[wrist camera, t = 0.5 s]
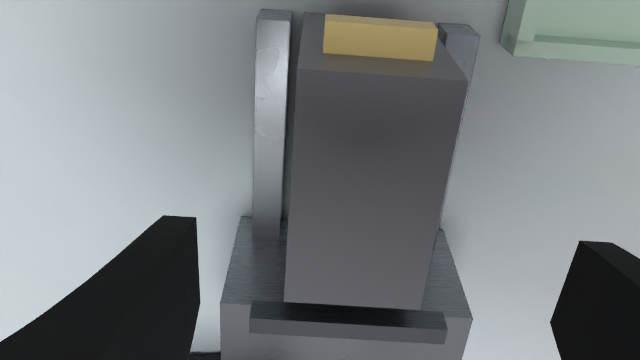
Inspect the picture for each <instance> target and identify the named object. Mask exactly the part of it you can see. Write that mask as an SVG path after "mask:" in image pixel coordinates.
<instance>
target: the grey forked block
mask: <svg viewBox="0 0 640 360" xmlns="http://www.w3.org/2000/svg"><path fill="white" fill-rule="evenodd" d="M291 22H292V12H291V11H278V10H266V9H261V10H260V12H259V15H258V17H257V19H256V68H255V120H254V171H253V217H241V218H240V222H239V226H238V231H237V235H236V239H235V243H234V247H233V251H232V256H231V260H230V264H229V268H228V272H227V276H226V281H225V285H224V289H223V293H222V297H221V301H220V330H221V360H462V356H463V353H464V349H465V345H466V342H467V338H468V335H469V331H470V327H471V324H472V320H473V317H472V314H471V311H470V308H469V305H468V302H467V299H466V296H465V293H464V291H463V288H462V285H461V282H460V279H459V276H458V273H457V270H456V267H455V264H454V261H453V258H452V255H451V252H450V249H449V246H448V243H447V240H446V237H445V234H444V231H443V230H439V225H440V221H441V216H442V212H443V207H444V202H445V198H446V193H447V188H448V184H449V179H450V174H451V170H452V165H453V160H454V156H455V151H456V147H457V142H458V137H459V133H460V128H461V123H462V119H463V114H464V109H465V105H466V100H467V96H468V91H469V86H470V82H471V77H472V72H473V68H474V63H475V58H476V54H477V49H478V44H479V40H480V36H479V35H478V34H477V33H476V32H475V30H474V29H473V28H472V27H471V26H470V25H458V24H445V23H439V27H438V35H437V37H438V38H439V40H440V41H441V42H442V44H443V45H444V47H445V48H446V49H447V51H448V52H449V54H450V55H451V56H452V58H453V59H454V61H455V62H456V64H457V65H458V66H459V68H460V69H461V71H462V72H463V73H464V75H465V76H466V78H467V79H468V80H469V83H468V88H467V93H466V97H465V102H464V107H463V111H462V116H461V121H460V125H459V130H458V135H457V139H456V144H455V149H454V153H453V158H452V163H451V167H450V172H449V177H448V181H447V186H446V191H445V196H444V200H443V205H442V210H441V214H440V219H439V224H438V228H437V233H436V238H435V242H434V247H433V252H432V256H431V261H430V266H429V270H428V275H427V280H426V284H425V289H424V294H423V298H422V303H421V308H420V310H412V309H395V308H379V307H362V306H346V305H329V304H313V303H296V302H284V288H285V271H286V253H287V235H288V220H285V219H282V203H283V182H284V162H285V142H286V122H287V102H288V82H289V62H290V42H291Z"/></svg>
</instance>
